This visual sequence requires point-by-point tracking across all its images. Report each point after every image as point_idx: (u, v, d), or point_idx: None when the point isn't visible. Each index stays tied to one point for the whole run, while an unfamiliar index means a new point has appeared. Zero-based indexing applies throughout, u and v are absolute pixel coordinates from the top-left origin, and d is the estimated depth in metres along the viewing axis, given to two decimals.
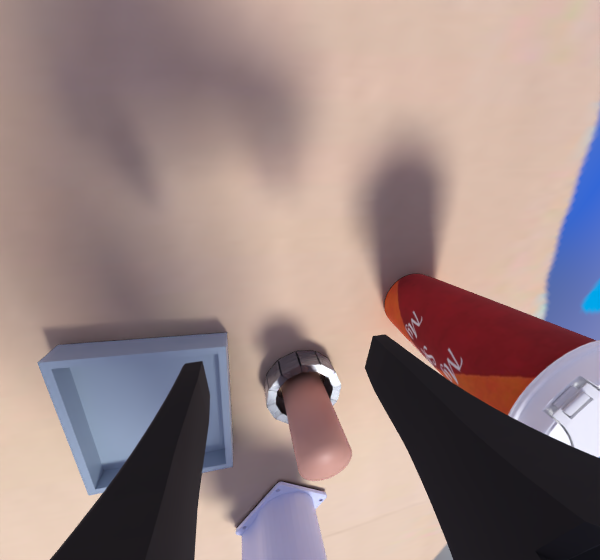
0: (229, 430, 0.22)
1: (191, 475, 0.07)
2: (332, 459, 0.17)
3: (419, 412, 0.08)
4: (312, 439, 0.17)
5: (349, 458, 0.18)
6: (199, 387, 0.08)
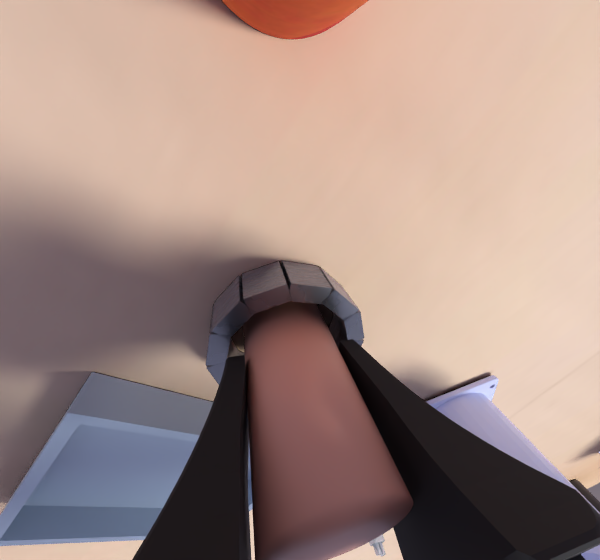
0: None
1: (245, 462, 0.07)
2: (350, 524, 0.06)
3: (378, 421, 0.08)
4: (254, 525, 0.06)
5: (400, 497, 0.06)
6: (245, 379, 0.09)
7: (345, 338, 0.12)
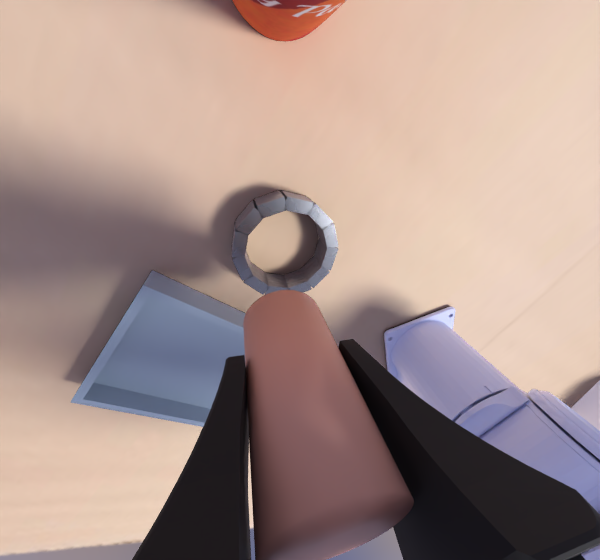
0: None
1: (245, 462, 0.07)
2: (350, 523, 0.06)
3: (378, 421, 0.08)
4: (254, 524, 0.06)
5: (400, 496, 0.06)
6: (245, 379, 0.09)
7: (325, 247, 0.17)
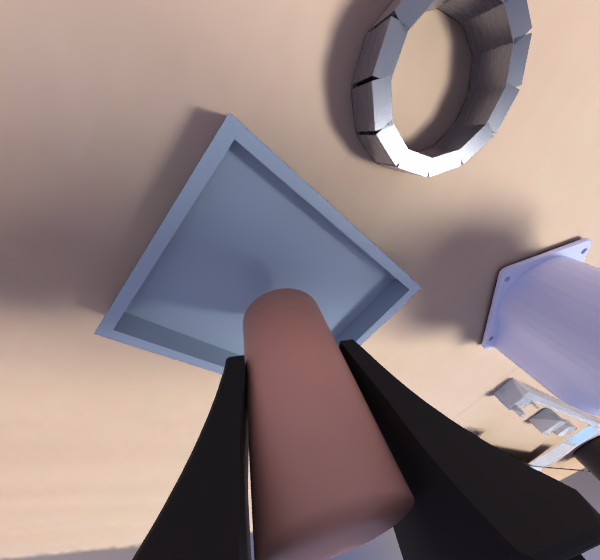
0: (374, 247, 0.13)
1: (245, 462, 0.07)
2: (351, 523, 0.06)
3: (378, 421, 0.08)
4: (254, 522, 0.06)
5: (402, 495, 0.06)
6: (245, 379, 0.09)
7: (499, 88, 0.11)
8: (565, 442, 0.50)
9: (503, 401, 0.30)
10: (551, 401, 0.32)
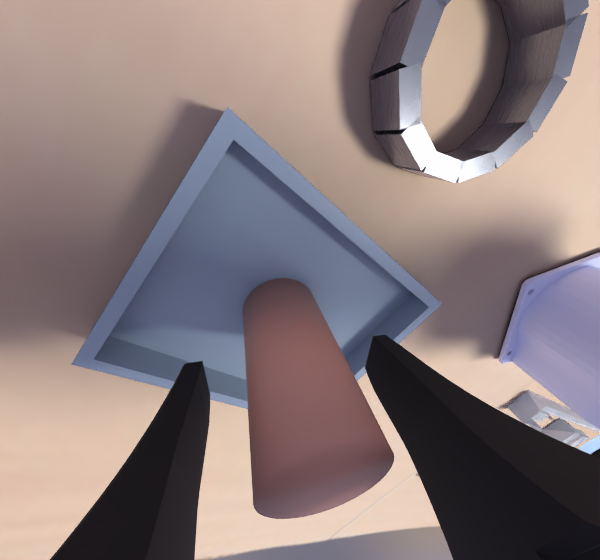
0: (393, 262, 0.12)
1: (191, 475, 0.07)
2: (338, 473, 0.06)
3: (419, 412, 0.08)
4: (253, 473, 0.06)
5: (382, 448, 0.06)
6: (199, 387, 0.08)
7: (543, 80, 0.09)
8: None
9: (518, 415, 0.28)
10: (568, 414, 0.30)
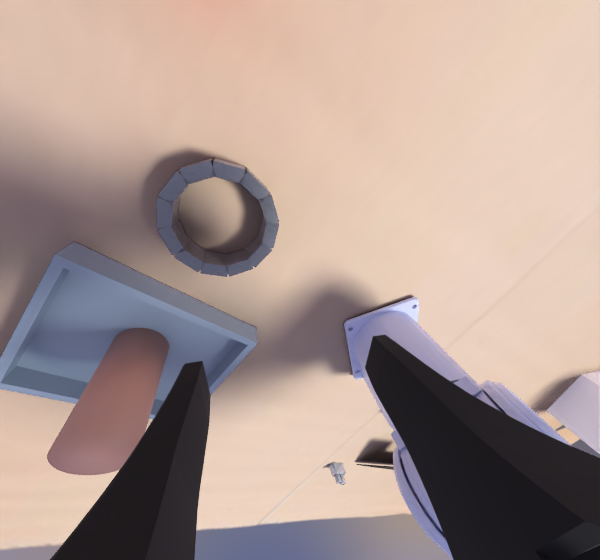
0: (203, 320, 0.18)
1: (191, 475, 0.07)
2: (98, 449, 0.13)
3: (419, 412, 0.08)
4: None
5: (118, 436, 0.13)
6: (199, 387, 0.08)
7: (265, 222, 0.16)
8: None
9: None
10: None
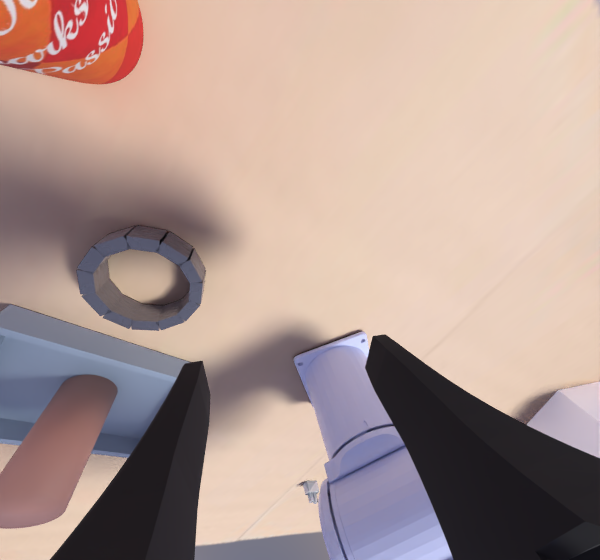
0: (141, 368, 0.19)
1: (191, 475, 0.07)
2: (23, 507, 0.14)
3: (419, 412, 0.08)
4: None
5: (40, 496, 0.14)
6: (199, 387, 0.08)
7: None
8: None
9: None
10: None
